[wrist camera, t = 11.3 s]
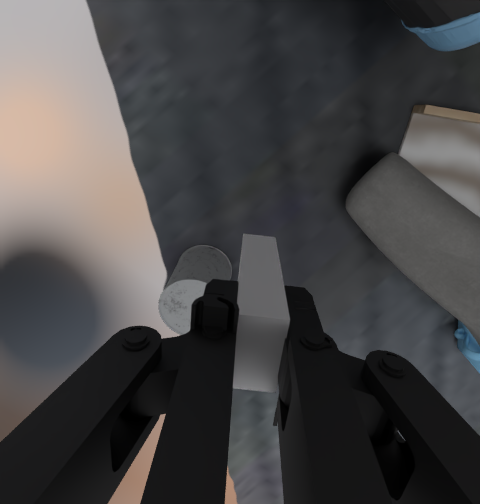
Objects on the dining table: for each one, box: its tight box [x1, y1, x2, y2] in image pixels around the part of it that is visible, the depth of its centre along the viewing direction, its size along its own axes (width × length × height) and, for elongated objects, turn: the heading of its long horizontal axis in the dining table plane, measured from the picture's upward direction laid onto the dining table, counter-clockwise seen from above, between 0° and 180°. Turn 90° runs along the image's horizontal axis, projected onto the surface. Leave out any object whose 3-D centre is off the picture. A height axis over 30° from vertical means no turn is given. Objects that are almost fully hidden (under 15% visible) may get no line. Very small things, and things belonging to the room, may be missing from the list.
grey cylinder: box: [159, 245, 232, 335], centre depth 51 cm, size 10×10×12 cm
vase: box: [346, 152, 480, 346], centre depth 43 cm, size 12×12×30 cm
